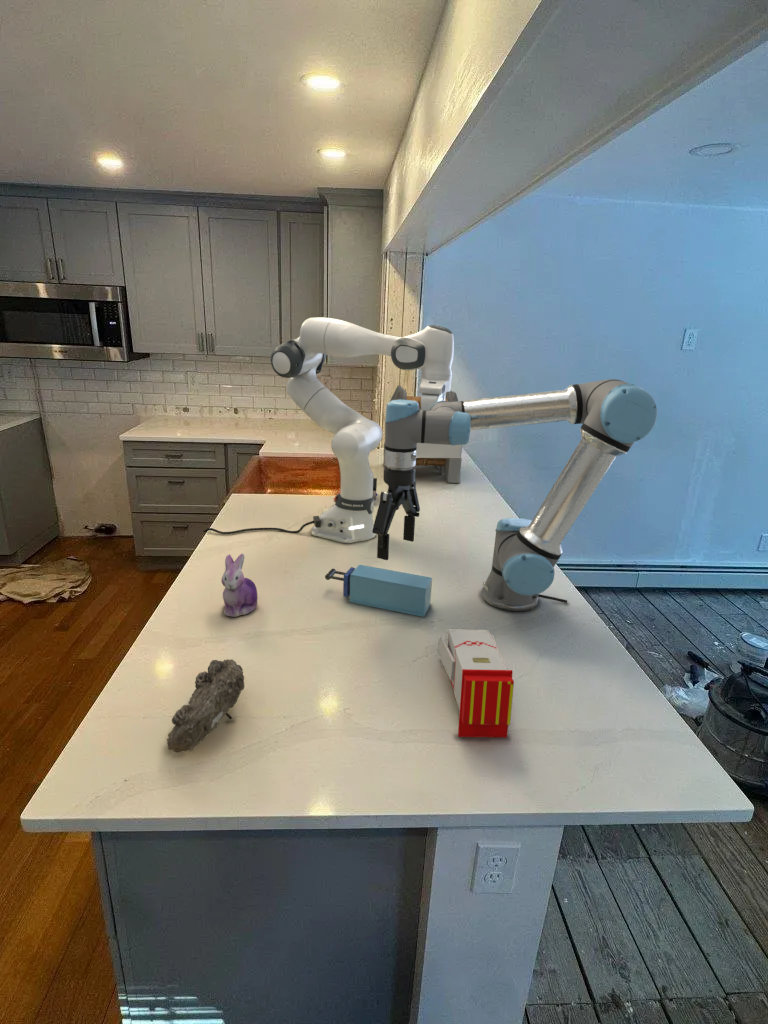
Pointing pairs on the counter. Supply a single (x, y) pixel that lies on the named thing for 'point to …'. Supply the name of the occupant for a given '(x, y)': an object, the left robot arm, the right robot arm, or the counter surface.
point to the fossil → (206, 705)
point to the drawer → (346, 579)
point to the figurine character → (374, 487)
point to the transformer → (436, 445)
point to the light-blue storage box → (390, 590)
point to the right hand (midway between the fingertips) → (396, 549)
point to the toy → (478, 682)
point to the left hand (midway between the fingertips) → (432, 431)
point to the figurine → (237, 589)
